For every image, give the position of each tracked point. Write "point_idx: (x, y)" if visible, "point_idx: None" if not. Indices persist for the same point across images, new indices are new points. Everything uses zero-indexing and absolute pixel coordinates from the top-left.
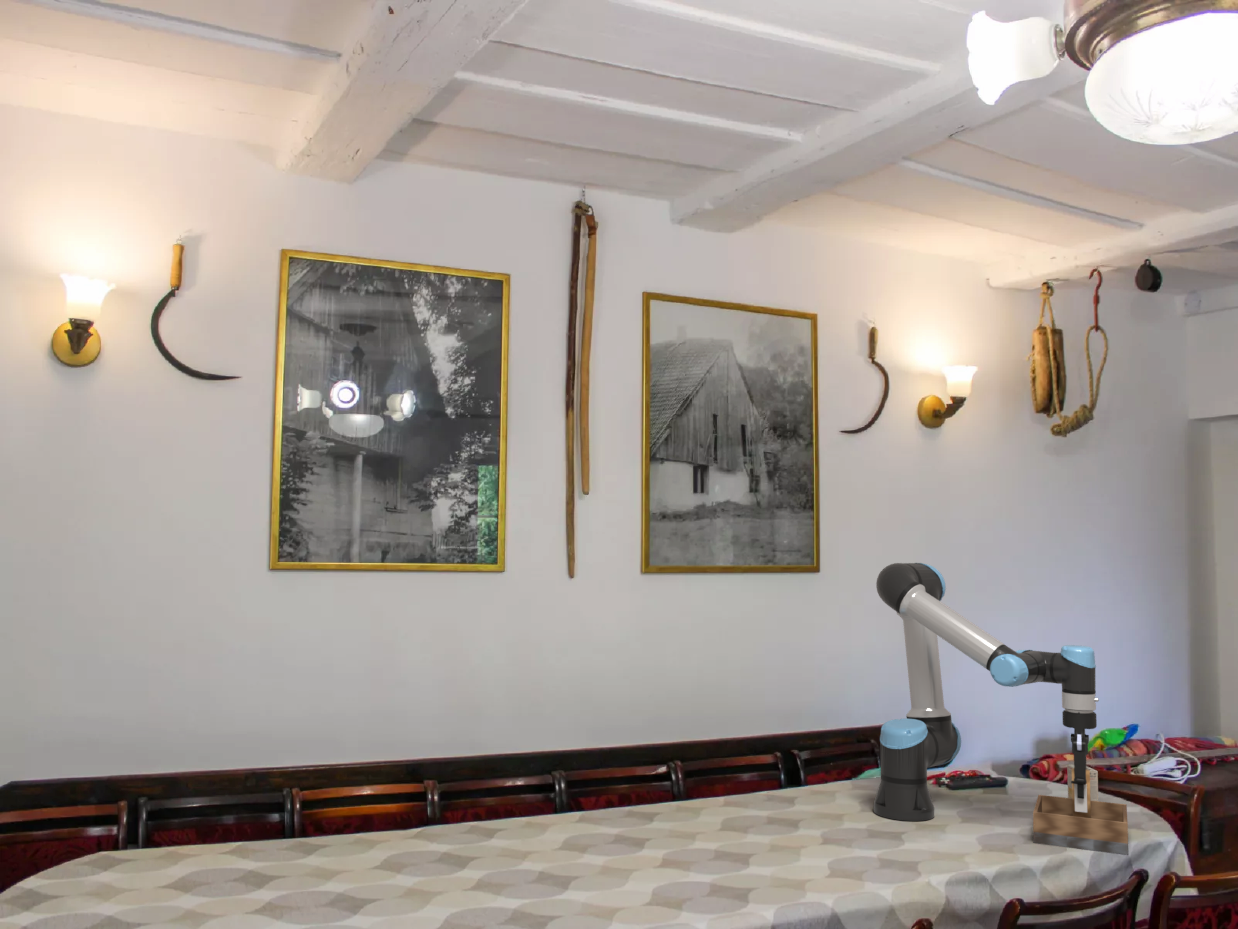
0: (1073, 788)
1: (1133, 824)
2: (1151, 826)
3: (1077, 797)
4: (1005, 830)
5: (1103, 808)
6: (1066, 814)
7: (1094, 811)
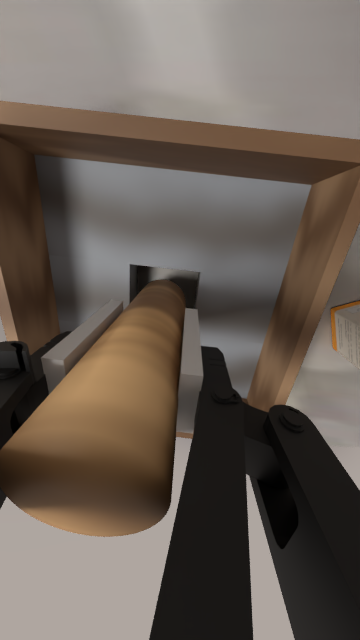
0: (104, 335)
1: (335, 409)
2: (323, 433)
3: (64, 332)
4: (161, 29)
5: (269, 385)
6: (289, 273)
7: (272, 357)
